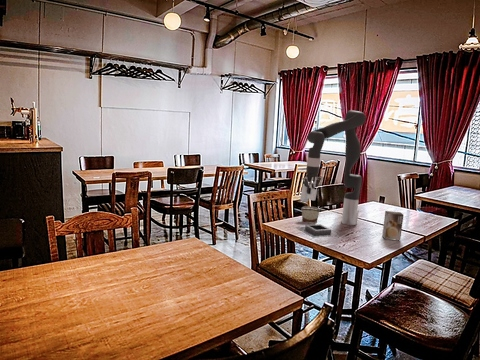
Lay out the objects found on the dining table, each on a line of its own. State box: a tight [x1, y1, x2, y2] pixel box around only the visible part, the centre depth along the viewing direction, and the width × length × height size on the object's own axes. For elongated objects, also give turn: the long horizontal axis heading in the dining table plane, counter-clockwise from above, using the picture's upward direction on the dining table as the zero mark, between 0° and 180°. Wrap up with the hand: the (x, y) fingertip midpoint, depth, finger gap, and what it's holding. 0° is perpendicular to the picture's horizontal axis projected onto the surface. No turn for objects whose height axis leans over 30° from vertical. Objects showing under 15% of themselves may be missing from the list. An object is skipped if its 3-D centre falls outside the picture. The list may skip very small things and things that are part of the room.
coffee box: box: [382, 210, 404, 241], centre depth 221 cm, size 9×6×16 cm
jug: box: [299, 183, 318, 203], centre depth 224 cm, size 11×5×10 cm, turn 33°
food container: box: [300, 205, 321, 223], centre depth 245 cm, size 12×6×10 cm, turn 84°
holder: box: [295, 223, 342, 239], centre depth 223 cm, size 20×20×4 cm
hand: (310, 193), depth 223 cm, fingers closed on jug
